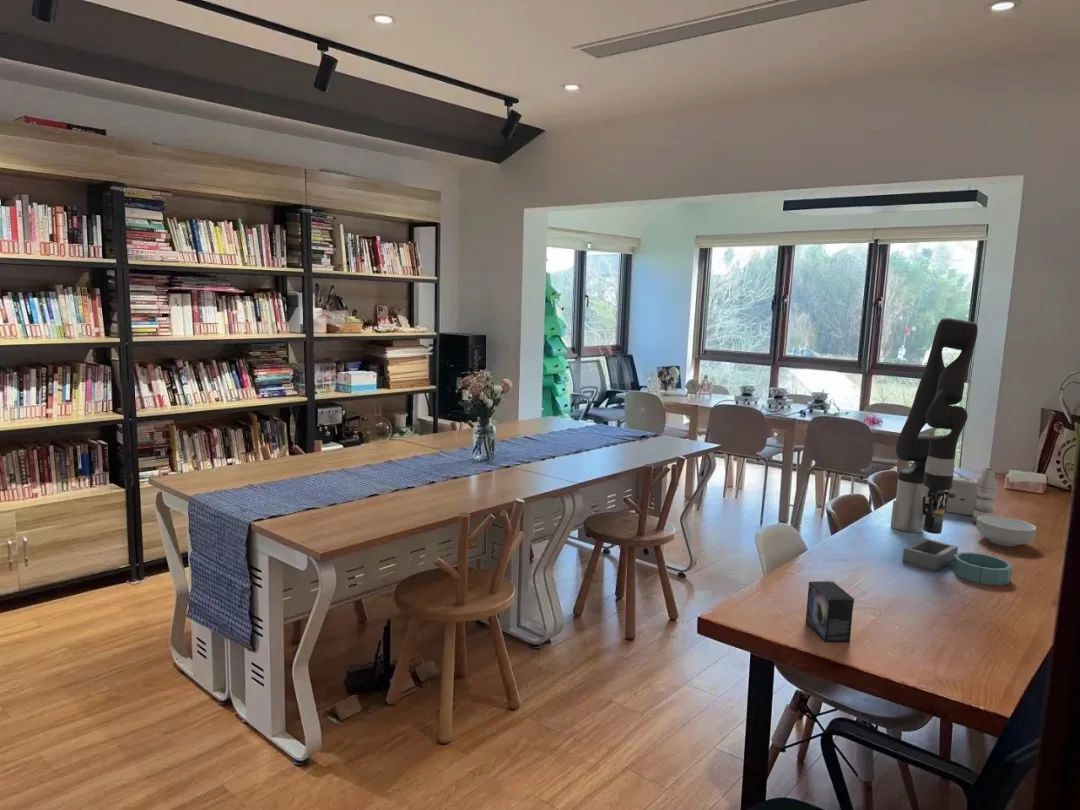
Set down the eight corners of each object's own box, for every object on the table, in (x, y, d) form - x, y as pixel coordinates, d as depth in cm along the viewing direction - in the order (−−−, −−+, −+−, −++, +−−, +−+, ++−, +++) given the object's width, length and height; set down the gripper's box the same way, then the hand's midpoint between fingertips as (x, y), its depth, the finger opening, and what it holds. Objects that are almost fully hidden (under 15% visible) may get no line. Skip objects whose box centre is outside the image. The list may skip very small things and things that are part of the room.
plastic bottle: (996, 527, 261) (1003, 472, 258) (975, 525, 262) (982, 470, 260) (989, 522, 267) (996, 468, 265) (968, 520, 269) (975, 466, 266)
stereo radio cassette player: (984, 514, 278) (991, 462, 275) (983, 519, 272) (990, 466, 269) (922, 504, 289) (928, 454, 287) (920, 508, 283) (926, 457, 280)
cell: (919, 530, 222) (923, 504, 221) (926, 527, 225) (929, 501, 224) (937, 535, 218) (941, 508, 217) (944, 531, 221) (947, 506, 220)
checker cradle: (902, 562, 221) (903, 548, 220) (923, 551, 232) (925, 538, 231) (936, 572, 214) (937, 557, 213) (956, 560, 225) (958, 546, 224)
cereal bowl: (1043, 553, 234) (1046, 532, 233) (985, 548, 238) (988, 527, 237) (1020, 537, 251) (1023, 517, 250) (966, 532, 254) (969, 512, 253)
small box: (803, 622, 177) (807, 580, 175) (829, 622, 177) (833, 580, 176) (823, 642, 166) (827, 598, 165) (851, 642, 167) (855, 598, 165)
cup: (945, 573, 213) (947, 558, 212) (963, 563, 222) (964, 549, 222) (1000, 589, 203) (1002, 573, 202) (1016, 577, 212) (1018, 562, 211)
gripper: (935, 465, 226) (928, 519, 229) (916, 472, 217) (909, 527, 220) (962, 471, 221) (954, 525, 223) (943, 477, 211) (935, 534, 214)
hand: (932, 526), depth 221 cm, fingers closed on cell, 5 cm apart
